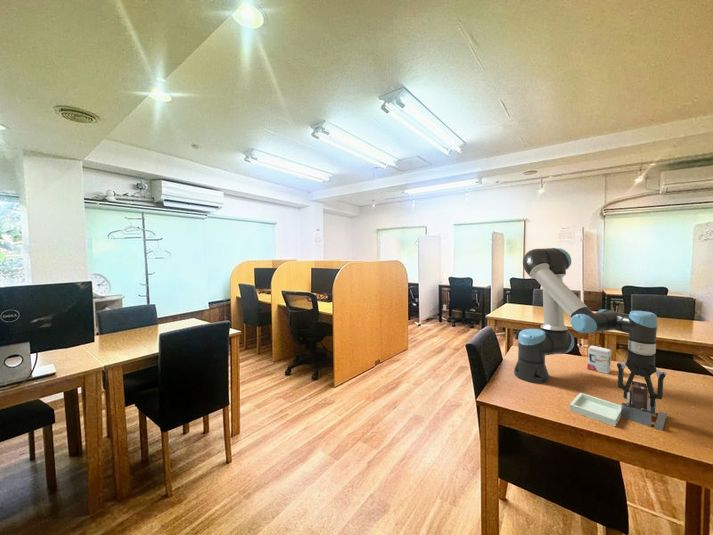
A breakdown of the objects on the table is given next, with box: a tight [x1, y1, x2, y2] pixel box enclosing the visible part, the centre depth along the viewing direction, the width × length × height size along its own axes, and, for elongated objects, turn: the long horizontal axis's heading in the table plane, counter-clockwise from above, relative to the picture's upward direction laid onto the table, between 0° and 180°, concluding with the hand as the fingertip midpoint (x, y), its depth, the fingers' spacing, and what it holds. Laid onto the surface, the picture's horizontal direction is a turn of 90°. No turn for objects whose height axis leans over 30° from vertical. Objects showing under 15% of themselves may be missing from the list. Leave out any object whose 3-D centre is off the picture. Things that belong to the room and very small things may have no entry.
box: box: [631, 380, 649, 409], centre depth 111 cm, size 6×4×12 cm
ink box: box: [587, 345, 612, 374], centre depth 150 cm, size 9×5×12 cm, turn 37°
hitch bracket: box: [620, 400, 668, 431], centre depth 110 cm, size 11×13×6 cm
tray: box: [568, 392, 622, 427], centre depth 115 cm, size 14×14×3 cm
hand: (638, 410), depth 112 cm, fingers closed on box, 5 cm apart
